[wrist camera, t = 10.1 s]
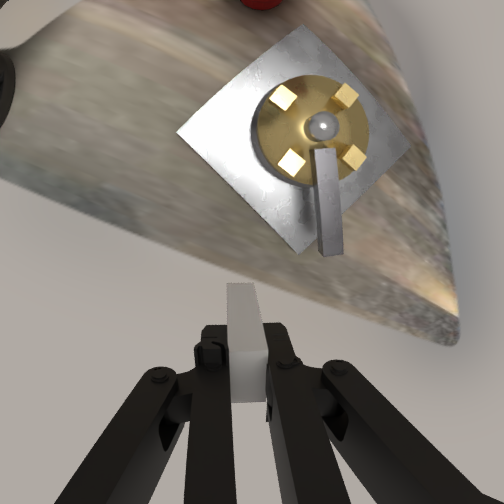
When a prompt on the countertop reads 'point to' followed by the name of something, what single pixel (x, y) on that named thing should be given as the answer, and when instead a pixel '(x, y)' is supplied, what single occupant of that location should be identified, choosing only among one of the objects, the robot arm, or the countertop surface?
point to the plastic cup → (261, 4)
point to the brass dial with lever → (315, 144)
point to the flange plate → (236, 151)
